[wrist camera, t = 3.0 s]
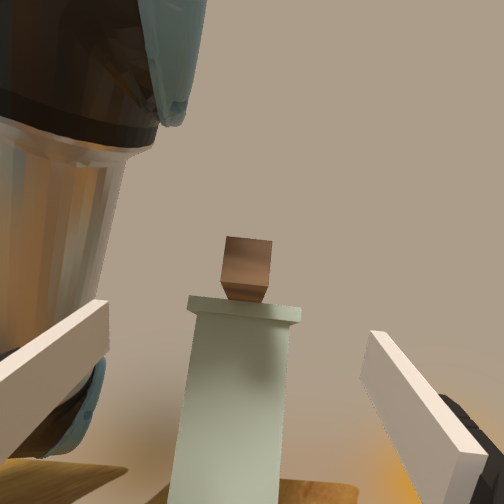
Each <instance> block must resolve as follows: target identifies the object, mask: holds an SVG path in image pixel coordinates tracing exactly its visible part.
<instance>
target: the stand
mask: <svg viewBox="0 0 504 504" xmlns="http://www.w3.org/2000/svg"><path fill="white" fill-rule="evenodd" d="M301 309H302V308H299V307H291V306H282V305H273V304H264V303H255V302H246V301H236V300H227V299H218V298H208V297H199V296H191V295H189V298H188V305H187V310H189V311H191V312H192V313H194V314H196V315H197V318H196V325H195V331H194V337H193V344H192V350H191V356H190V362H189V369H188V375H187V381H186V387H185V394H184V400H183V407H182V412H181V419H180V425H179V431H178V438H177V444H176V450H175V456H174V463H173V469H172V476H171V481H170V488H169V494H168V500H167V504H278V495H279V480H280V463H281V449H282V448H281V447H282V434H283V418H284V403H285V388H286V372H287V356H288V341H289V326H290V325H293V324H296V323H299V322H301Z"/></svg>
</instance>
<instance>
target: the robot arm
mask: <svg viewBox="0 0 504 504" xmlns="http://www.w3.org/2000/svg"><path fill="white" fill-rule="evenodd" d="M206 3H207V0H0V466H1V465H2V464H3V463H4V462H5V460H6V459H10V458H27V457H35V458H37V459H39V458H40V459H43V458H46V457H48V456H50V455H61V454H66V453H69V452H71V451H72V450H74V449H75V448H76V447H77V446H78V445H79V444H80V442H81V441H82V439H83V437H84V435H85V433H86V431H87V429H88V427H89V424H90V422H91V419H92V415H93V411H94V409H95V407H96V405H97V402H98V399H99V395H100V392H101V388H102V384H103V380H104V374H105V368H106V360H105V358H104V355H105V354H106V353H107V352H108V351H109V301H103V300H95V296H96V292H97V287H98V282H99V278H100V274H101V270H102V265H103V261H104V256H105V252H106V247H107V243H108V239H109V234H110V230H111V225H112V221H113V217H114V212H115V208H116V203H117V199H118V194H119V190H120V186H121V181H122V177H123V173H124V168H125V164H126V160H128V159H129V158H130V157H132V156H135V155H137V154H139V153H142V152H144V151H146V150H148V149H150V148H151V147H152V146H153V144H154V140H155V136H156V132H157V129H158V125H159V123H161V124H162V125H163V126H165V127H170V126H173V127H177V126H180V125H181V124H182V122H183V120H184V117H185V115H186V108H187V104H188V98H189V95H190V92H191V88H192V84H193V79H194V74H195V69H196V63H197V58H198V53H199V47H200V41H201V35H202V28H203V23H204V17H205V9H206ZM360 380H361V382H362V384H363V386H364V388H365V390H366V392H367V394H368V396H369V398H370V400H371V402H372V404H373V406H374V408H375V410H376V412H377V414H378V416H379V418H380V420H381V422H382V424H383V426H384V428H385V430H386V432H387V434H388V436H389V438H390V440H391V442H392V444H393V446H394V448H395V450H396V452H397V454H398V456H399V458H400V460H401V462H402V464H403V466H404V468H405V470H406V472H407V474H408V476H409V478H410V480H411V482H412V484H413V486H414V488H415V490H416V492H417V494H418V496H419V498H420V500H421V502H422V504H504V455H503V454H502V453H501V451H500V450H499V449H498V448H497V447H496V446H495V445H494V444H493V443H492V441H491V440H490V439H489V438H488V437H487V436H486V435H485V434H484V433H483V431H482V430H479V427H478V426H477V425H476V424H475V422H474V421H473V420H471V419H470V417H469V416H468V415H467V413H466V412H465V411H464V410H463V409H462V408H461V407H460V406H459V405H458V404H457V403H455V402H454V401H453V400H451V399H450V398H449V397H447V396H446V395H441V394H437V393H436V392H435V390H434V389H433V388H432V387H431V386H430V385H429V383H428V382H427V381H426V380H425V379H424V377H423V376H422V375H421V374H420V373H419V371H418V370H417V369H416V368H415V367H414V365H413V364H412V363H411V362H410V361H409V359H408V358H407V357H406V356H405V355H404V354H403V352H402V351H401V350H400V349H399V347H398V346H397V345H396V344H395V343H394V342H393V340H392V339H391V338H390V337H389V336H388V334H387V333H386V332H381V331H372V330H370V333H369V338H368V342H367V347H366V352H365V356H364V361H363V366H362V370H361V375H360Z"/></svg>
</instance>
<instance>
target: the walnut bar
mask: <svg viewBox="0 0 504 504" xmlns="http://www.w3.org/2000/svg"><path fill="white" fill-rule="evenodd" d="M271 250H272V241H267V240H256V239H248V238H238V237H229V236H227V237H226V244H225V251H224V259H223V265H222V266H223V267H222V273H221V280H220V282H221V284H222V286H223V289H224V291H225V293H226V295H227V298H228V300H236V301H246V302H255V303H261V302H262V300H263V298H264V295H265V293H266V290H267V288H268V284H269V273H270V262H271Z"/></svg>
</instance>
